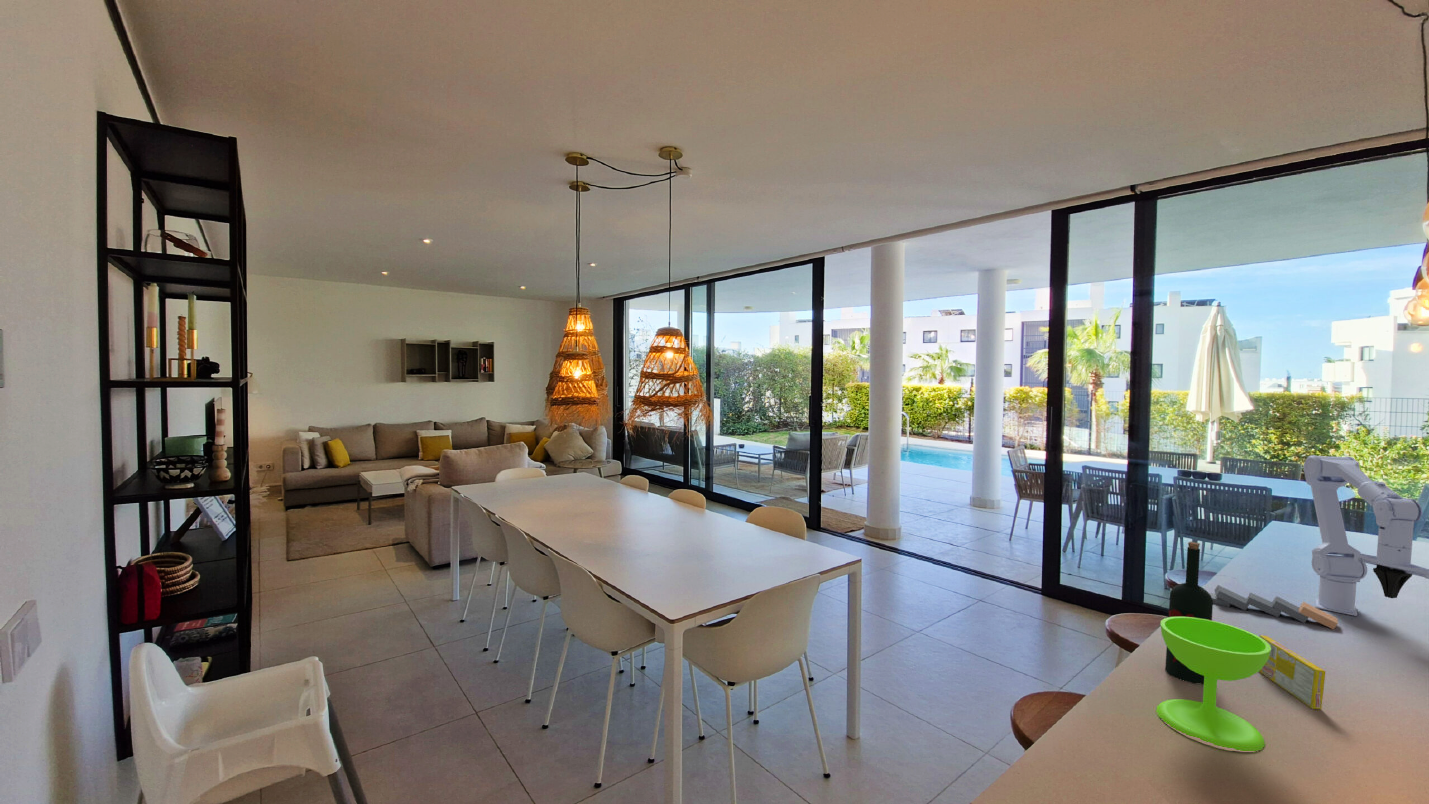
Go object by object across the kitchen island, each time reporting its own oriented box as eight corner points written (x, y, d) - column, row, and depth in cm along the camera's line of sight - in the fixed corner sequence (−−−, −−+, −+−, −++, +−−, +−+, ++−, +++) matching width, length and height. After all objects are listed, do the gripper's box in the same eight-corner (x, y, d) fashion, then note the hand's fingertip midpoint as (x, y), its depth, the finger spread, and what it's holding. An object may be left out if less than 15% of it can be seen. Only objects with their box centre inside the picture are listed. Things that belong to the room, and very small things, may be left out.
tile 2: (1303, 617, 162) (1272, 601, 166) (1308, 612, 161) (1276, 595, 165) (1304, 623, 158) (1271, 606, 163) (1308, 617, 158) (1276, 600, 162)
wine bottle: (1155, 674, 130) (1161, 543, 129) (1172, 662, 136) (1178, 535, 134) (1199, 691, 124) (1206, 552, 122) (1215, 677, 130) (1222, 544, 128)
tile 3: (1278, 612, 165) (1247, 598, 170) (1281, 606, 165) (1250, 592, 169) (1278, 617, 162) (1246, 602, 166) (1281, 611, 161) (1249, 597, 166)
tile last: (1230, 603, 172) (1200, 597, 177) (1231, 597, 172) (1200, 590, 177) (1229, 608, 169) (1198, 601, 174) (1229, 601, 169) (1198, 595, 174)
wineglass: (1290, 753, 104) (1297, 655, 103) (1199, 752, 104) (1205, 653, 103) (1214, 702, 120) (1219, 616, 119) (1136, 701, 120) (1140, 615, 119)
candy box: (1324, 710, 117) (1326, 670, 117) (1311, 709, 118) (1314, 669, 117) (1265, 670, 133) (1267, 634, 133) (1254, 669, 134) (1256, 633, 133)
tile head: (1332, 623, 158) (1299, 607, 162) (1337, 617, 157) (1303, 601, 162) (1333, 629, 154) (1299, 612, 159) (1338, 623, 154) (1303, 606, 158)
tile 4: (1242, 604, 170) (1214, 590, 174) (1246, 598, 170) (1218, 584, 173) (1245, 610, 166) (1215, 596, 170) (1249, 604, 166) (1219, 590, 169)
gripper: (1446, 552, 143) (1442, 606, 144) (1368, 536, 157) (1364, 585, 158) (1426, 554, 141) (1422, 609, 142) (1349, 537, 156) (1345, 587, 156)
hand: (1390, 596), depth 150 cm, fingers closed
